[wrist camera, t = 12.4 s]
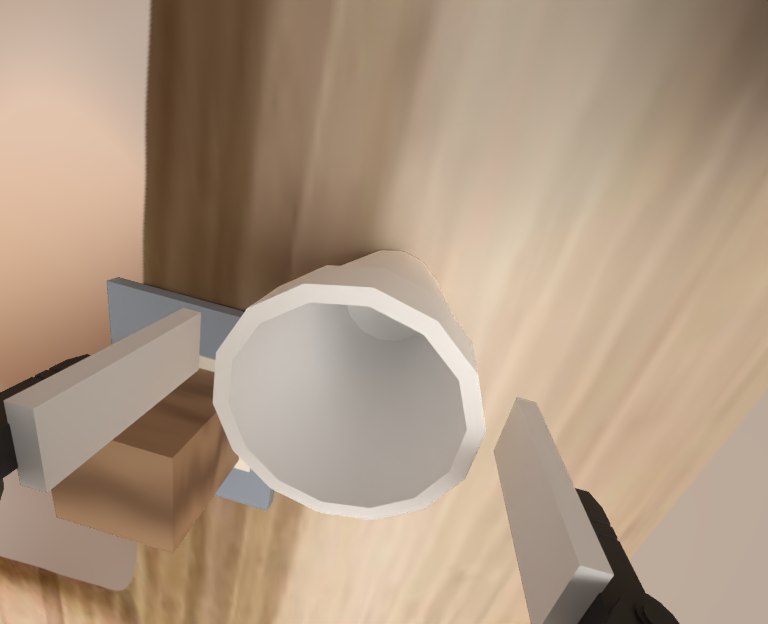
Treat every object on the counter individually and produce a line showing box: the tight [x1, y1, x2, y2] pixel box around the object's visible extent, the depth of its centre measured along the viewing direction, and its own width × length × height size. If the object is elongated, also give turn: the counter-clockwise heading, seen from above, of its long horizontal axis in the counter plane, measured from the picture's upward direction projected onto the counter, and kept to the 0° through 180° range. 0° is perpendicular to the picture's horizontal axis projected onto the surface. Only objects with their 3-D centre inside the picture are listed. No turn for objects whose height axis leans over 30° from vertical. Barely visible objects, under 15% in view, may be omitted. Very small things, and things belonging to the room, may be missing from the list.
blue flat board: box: [107, 277, 274, 511], centre depth 29 cm, size 18×14×1 cm
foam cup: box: [213, 250, 486, 520], centre depth 18 cm, size 10×9×13 cm
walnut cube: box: [51, 368, 239, 553], centre depth 25 cm, size 8×8×8 cm
